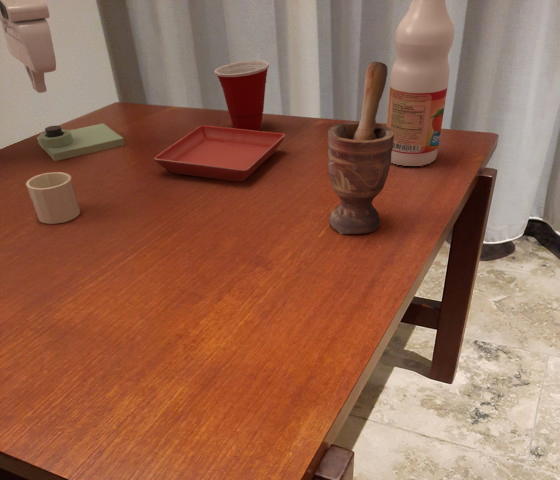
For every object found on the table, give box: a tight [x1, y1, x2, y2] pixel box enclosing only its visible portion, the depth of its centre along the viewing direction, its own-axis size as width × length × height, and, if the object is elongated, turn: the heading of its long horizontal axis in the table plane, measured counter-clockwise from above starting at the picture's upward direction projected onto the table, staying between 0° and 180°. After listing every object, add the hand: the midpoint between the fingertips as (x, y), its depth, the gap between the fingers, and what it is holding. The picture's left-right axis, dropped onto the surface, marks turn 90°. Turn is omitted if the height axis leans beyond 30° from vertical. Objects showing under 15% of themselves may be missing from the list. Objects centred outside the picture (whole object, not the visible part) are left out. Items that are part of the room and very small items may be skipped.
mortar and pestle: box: [327, 61, 394, 235], centre depth 76 cm, size 12×9×20 cm
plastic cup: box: [214, 59, 270, 131], centre depth 111 cm, size 11×11×12 cm
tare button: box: [44, 125, 63, 137], centre depth 107 cm, size 3×3×2 cm
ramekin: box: [25, 171, 81, 225], centre depth 85 cm, size 6×6×6 cm
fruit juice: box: [385, 0, 455, 167], centre depth 90 cm, size 9×9×28 cm
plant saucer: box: [153, 124, 286, 183], centre depth 100 cm, size 18×18×3 cm
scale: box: [36, 122, 126, 162], centre depth 110 cm, size 14×12×3 cm
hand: (40, 90), depth 102 cm, fingers closed
